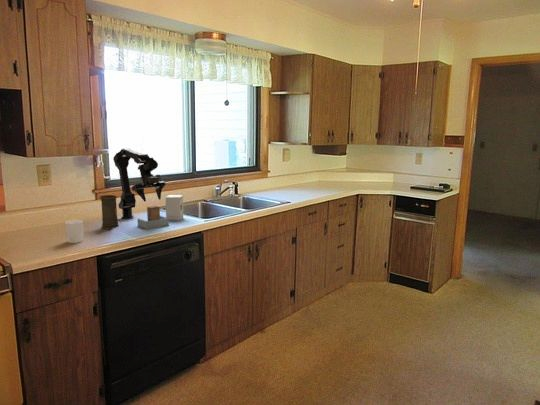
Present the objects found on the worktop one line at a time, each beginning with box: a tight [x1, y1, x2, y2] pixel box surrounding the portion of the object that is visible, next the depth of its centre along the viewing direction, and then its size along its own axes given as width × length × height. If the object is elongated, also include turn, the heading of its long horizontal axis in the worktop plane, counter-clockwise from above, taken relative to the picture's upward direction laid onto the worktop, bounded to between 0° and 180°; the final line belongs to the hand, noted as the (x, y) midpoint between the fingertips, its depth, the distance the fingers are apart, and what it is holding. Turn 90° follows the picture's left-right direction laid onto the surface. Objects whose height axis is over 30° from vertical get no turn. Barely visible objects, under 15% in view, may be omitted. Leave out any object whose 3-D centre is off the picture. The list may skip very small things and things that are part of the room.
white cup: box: [65, 219, 84, 244], centre depth 199 cm, size 8×8×10 cm
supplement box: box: [165, 194, 184, 221], centre depth 247 cm, size 9×9×15 cm
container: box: [99, 194, 120, 230], centre depth 226 cm, size 9×9×18 cm
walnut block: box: [146, 205, 161, 221], centre depth 229 cm, size 5×5×11 cm
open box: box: [137, 215, 170, 230], centre depth 230 cm, size 10×14×5 cm
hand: (152, 200), depth 230 cm, fingers open, 9 cm apart
